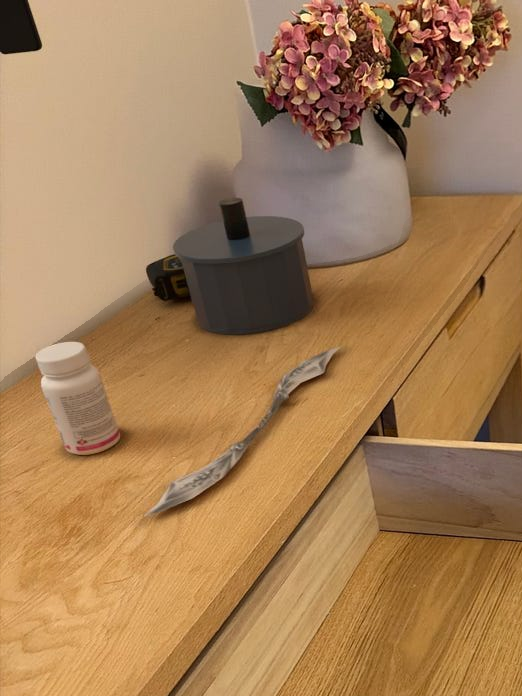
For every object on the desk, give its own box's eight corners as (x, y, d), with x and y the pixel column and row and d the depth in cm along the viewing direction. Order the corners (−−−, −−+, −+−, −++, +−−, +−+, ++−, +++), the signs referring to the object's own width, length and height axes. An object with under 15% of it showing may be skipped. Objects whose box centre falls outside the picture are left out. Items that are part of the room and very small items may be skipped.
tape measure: (151, 291, 115) (141, 258, 113) (208, 279, 117) (200, 246, 115) (158, 309, 110) (148, 276, 108) (218, 296, 112) (210, 263, 110)
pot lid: (152, 253, 104) (139, 207, 101) (261, 218, 110) (252, 175, 108) (217, 279, 96) (205, 231, 93) (331, 241, 102) (323, 194, 99)
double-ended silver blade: (139, 519, 75) (196, 524, 74) (136, 512, 75) (194, 517, 73) (302, 347, 98) (348, 348, 97) (301, 341, 98) (347, 342, 97)
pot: (177, 316, 108) (157, 246, 104) (273, 282, 114) (258, 215, 110) (236, 344, 101) (217, 271, 96) (335, 306, 107) (323, 235, 102)
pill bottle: (132, 432, 87) (101, 340, 82) (100, 459, 84) (65, 365, 78) (88, 428, 88) (54, 337, 83) (54, 453, 85) (17, 361, 80)
